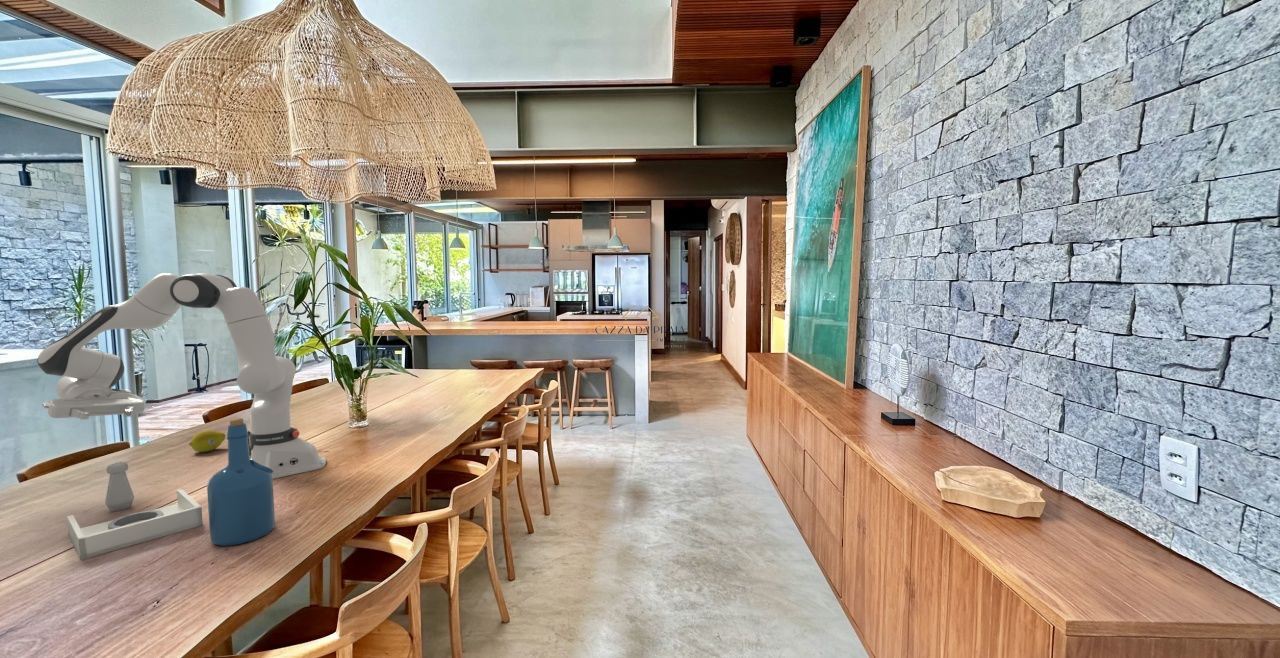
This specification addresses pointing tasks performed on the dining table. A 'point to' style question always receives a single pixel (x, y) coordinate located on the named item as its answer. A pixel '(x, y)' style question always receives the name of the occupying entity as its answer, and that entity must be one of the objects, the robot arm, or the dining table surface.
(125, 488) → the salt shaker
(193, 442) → the lemon
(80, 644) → the dining table surface
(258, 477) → the wine bottle
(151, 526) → the box
